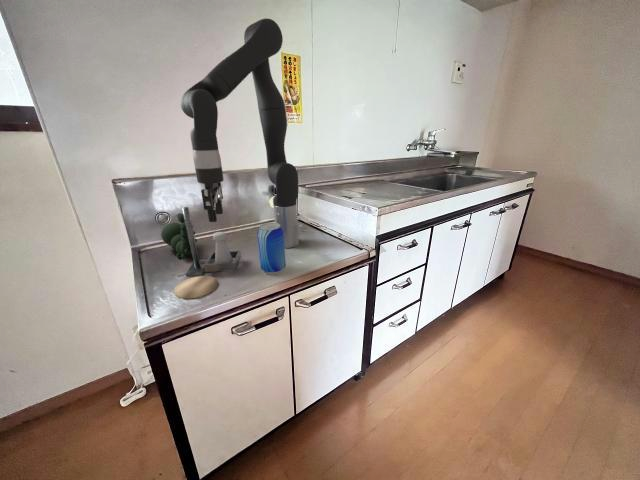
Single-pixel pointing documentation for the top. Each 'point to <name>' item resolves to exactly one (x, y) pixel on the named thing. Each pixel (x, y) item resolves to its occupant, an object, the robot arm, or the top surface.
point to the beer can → (271, 248)
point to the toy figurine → (177, 237)
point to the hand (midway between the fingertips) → (216, 217)
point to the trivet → (195, 287)
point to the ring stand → (206, 264)
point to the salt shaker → (221, 248)
